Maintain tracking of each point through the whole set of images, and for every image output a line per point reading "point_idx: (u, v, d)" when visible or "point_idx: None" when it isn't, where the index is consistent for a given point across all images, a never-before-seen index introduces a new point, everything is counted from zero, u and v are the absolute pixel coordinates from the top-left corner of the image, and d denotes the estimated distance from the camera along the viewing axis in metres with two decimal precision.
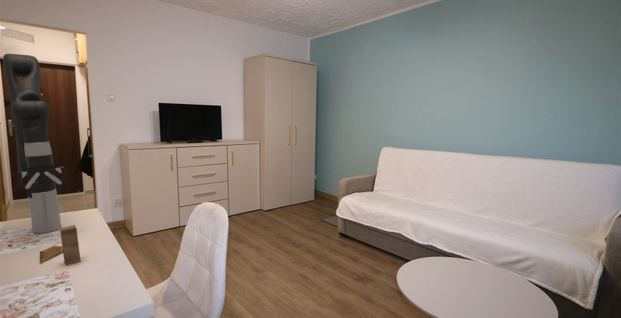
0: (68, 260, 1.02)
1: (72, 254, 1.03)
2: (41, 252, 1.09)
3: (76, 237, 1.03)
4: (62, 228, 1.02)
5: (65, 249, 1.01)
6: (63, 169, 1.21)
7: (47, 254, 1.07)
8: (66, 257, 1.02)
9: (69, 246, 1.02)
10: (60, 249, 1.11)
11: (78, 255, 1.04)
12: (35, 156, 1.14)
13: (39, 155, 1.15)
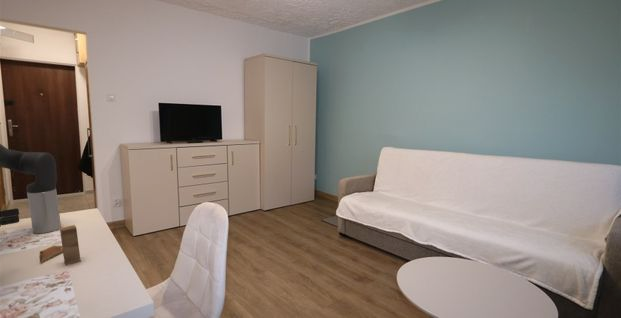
0: (68, 260, 1.02)
1: (72, 254, 1.03)
2: (41, 252, 1.09)
3: (76, 237, 1.03)
4: (62, 228, 1.02)
5: (65, 249, 1.01)
6: None
7: (47, 254, 1.07)
8: (66, 257, 1.02)
9: (69, 246, 1.02)
10: (60, 249, 1.11)
11: (78, 255, 1.04)
12: None
13: None
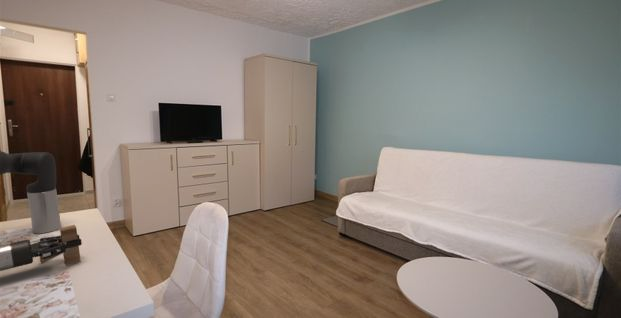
0: (68, 260, 1.02)
1: (72, 254, 1.03)
2: None
3: (76, 237, 1.03)
4: (62, 227, 1.02)
5: None
6: None
7: None
8: (66, 257, 1.02)
9: None
10: None
11: (78, 255, 1.04)
12: None
13: None
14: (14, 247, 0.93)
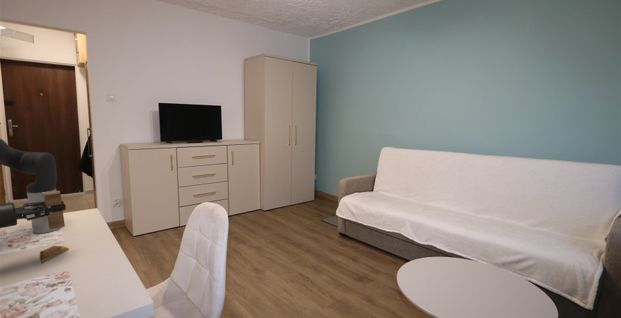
0: (52, 224, 1.05)
1: (56, 219, 1.05)
2: (41, 252, 1.09)
3: (60, 202, 1.05)
4: (46, 193, 1.05)
5: None
6: None
7: (47, 254, 1.08)
8: (50, 221, 1.04)
9: None
10: (60, 249, 1.11)
11: (62, 220, 1.06)
12: None
13: None
14: None
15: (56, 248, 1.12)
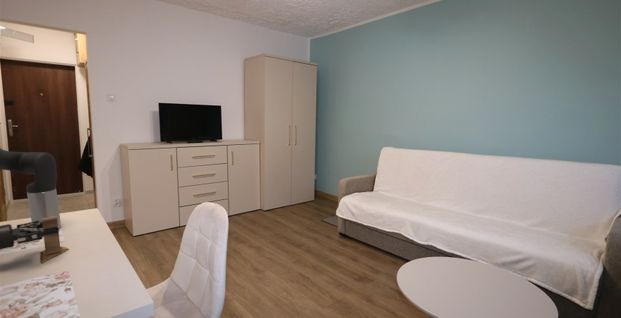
0: (48, 249, 1.07)
1: (52, 244, 1.08)
2: (41, 252, 1.09)
3: None
4: (43, 218, 1.08)
5: (46, 238, 1.06)
6: None
7: (47, 254, 1.08)
8: (46, 246, 1.07)
9: (49, 236, 1.07)
10: None
11: (58, 245, 1.09)
12: None
13: None
14: None
15: None
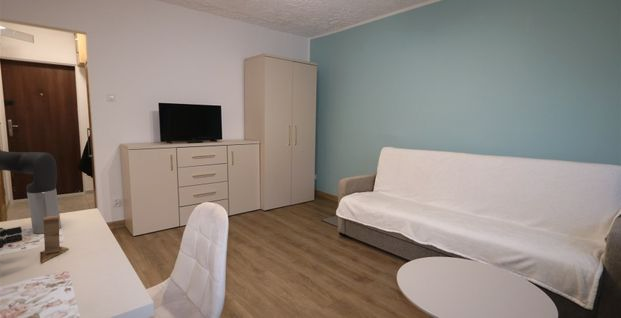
0: (48, 248, 1.07)
1: (51, 243, 1.08)
2: (41, 252, 1.09)
3: (57, 227, 1.08)
4: (45, 217, 1.08)
5: (46, 238, 1.07)
6: None
7: (47, 254, 1.08)
8: (46, 246, 1.07)
9: (49, 235, 1.07)
10: (60, 249, 1.11)
11: (58, 245, 1.09)
12: None
13: None
14: None
15: None
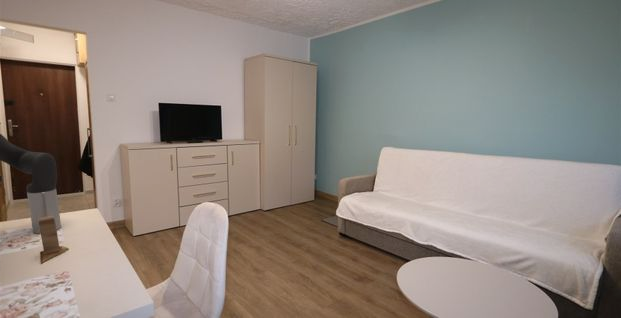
0: (47, 249, 1.07)
1: (50, 243, 1.08)
2: (41, 252, 1.09)
3: (54, 227, 1.08)
4: (41, 218, 1.08)
5: (43, 238, 1.06)
6: None
7: (47, 254, 1.07)
8: (44, 246, 1.07)
9: (47, 236, 1.07)
10: (60, 249, 1.11)
11: (56, 244, 1.09)
12: None
13: None
14: None
15: None
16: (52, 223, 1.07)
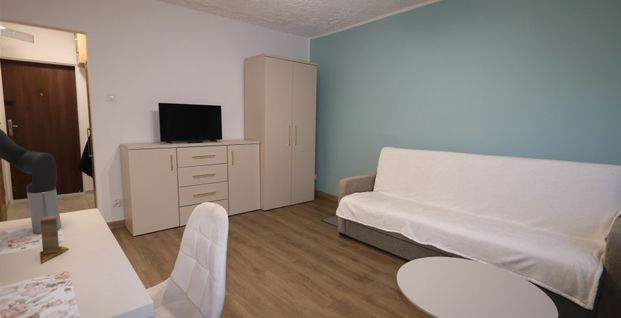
0: (46, 249, 1.07)
1: (49, 244, 1.07)
2: (41, 252, 1.09)
3: (55, 228, 1.08)
4: (43, 217, 1.08)
5: (43, 238, 1.06)
6: None
7: (47, 254, 1.07)
8: (44, 246, 1.07)
9: (47, 236, 1.07)
10: (60, 249, 1.11)
11: (56, 245, 1.09)
12: None
13: None
14: None
15: None
16: (54, 223, 1.07)
